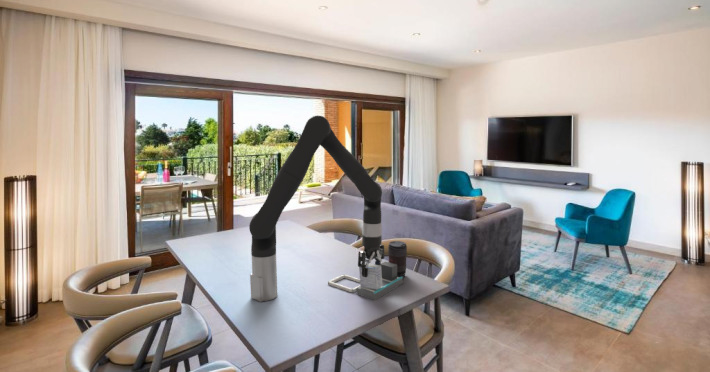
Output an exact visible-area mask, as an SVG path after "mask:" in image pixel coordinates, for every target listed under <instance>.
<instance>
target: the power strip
mask: <svg viewBox="0 0 710 372" xmlns="http://www.w3.org/2000/svg"><path fill="white" fill-rule="evenodd" d="M381 270H382V287H380V288H379V289H378V290H376V289H371V288H365V287H361V286H359V285H358V286H359V287H357V286H356V287H357V291H356V294H357V295H359V296H362V297H365V298H368V299H371V300H374V301H376V300H378V299H379V298H381V297H382V296H385V295H386V294H387V293H389V292H391V291H393V290H395V289H396V288H398V287H399V286H401V285H403V283H404V282H403V279H404V277H402V276H401V277H397V264H393V263H389V261H384V262H381Z"/></svg>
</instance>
